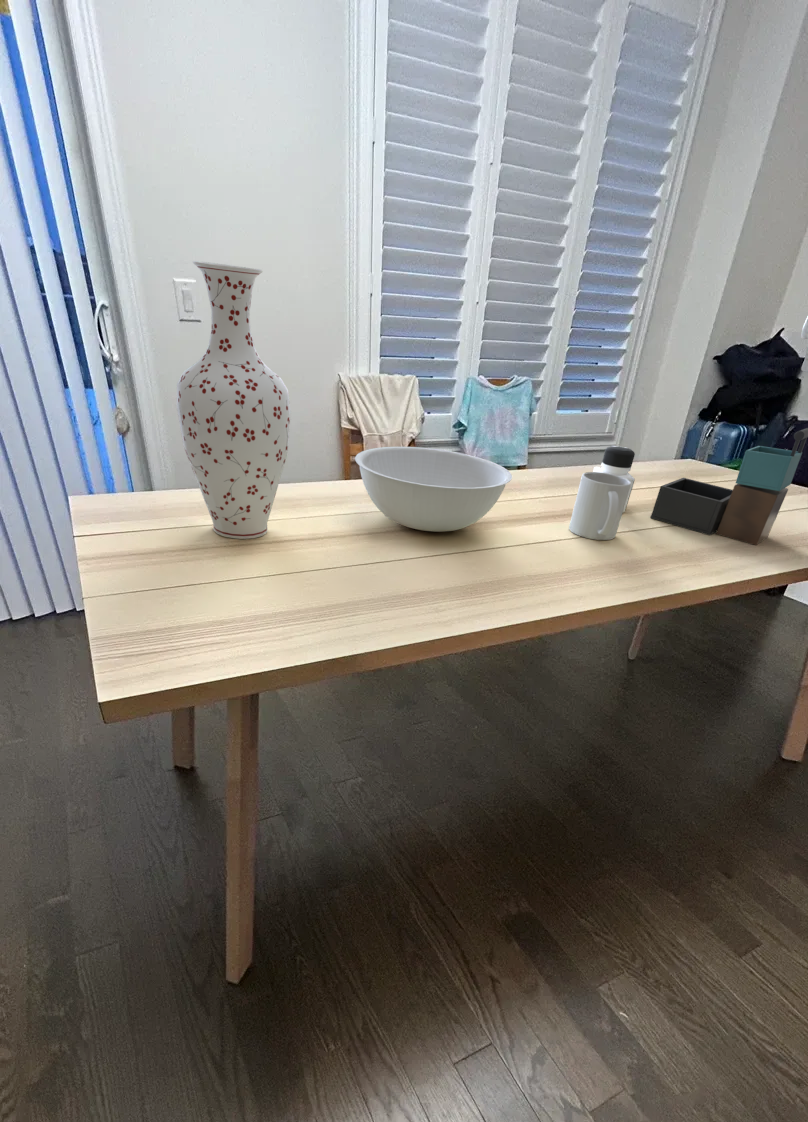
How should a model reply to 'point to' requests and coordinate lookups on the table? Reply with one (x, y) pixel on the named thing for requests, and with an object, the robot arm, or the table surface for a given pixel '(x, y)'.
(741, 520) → the stand
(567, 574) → the table surface
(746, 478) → the box
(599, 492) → the mug
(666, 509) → the basket
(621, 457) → the medicine bottle
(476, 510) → the bowl
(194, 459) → the vase
